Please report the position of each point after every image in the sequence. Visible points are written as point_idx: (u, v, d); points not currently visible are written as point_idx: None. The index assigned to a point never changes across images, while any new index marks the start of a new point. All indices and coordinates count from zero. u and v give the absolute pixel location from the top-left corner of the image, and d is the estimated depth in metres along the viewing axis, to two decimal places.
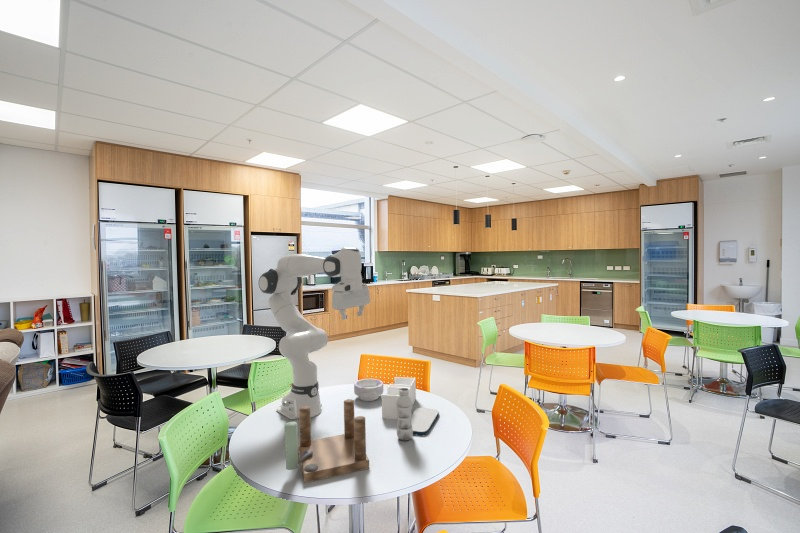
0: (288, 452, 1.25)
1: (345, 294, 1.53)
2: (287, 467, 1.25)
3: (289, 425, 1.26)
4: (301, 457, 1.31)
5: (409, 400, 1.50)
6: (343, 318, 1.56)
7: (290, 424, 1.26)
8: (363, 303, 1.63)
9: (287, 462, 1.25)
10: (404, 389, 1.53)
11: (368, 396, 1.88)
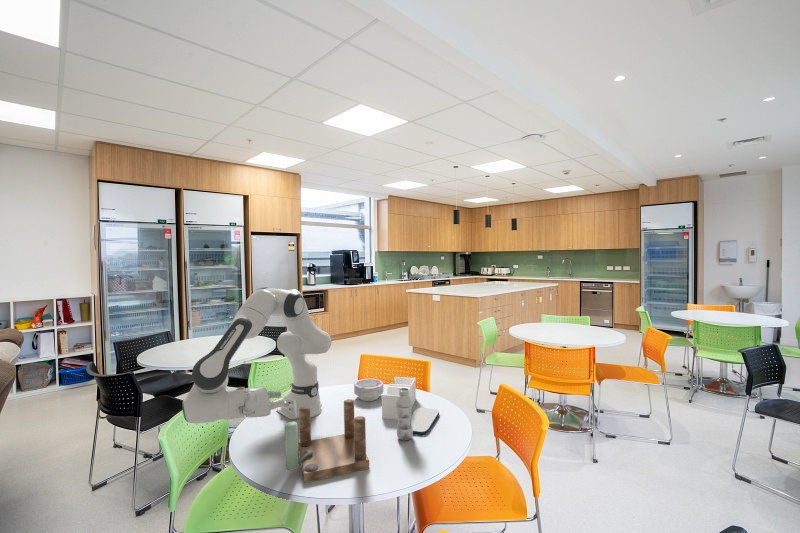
0: (288, 452, 1.25)
1: None
2: (287, 467, 1.25)
3: (289, 425, 1.26)
4: (301, 457, 1.31)
5: (409, 400, 1.50)
6: None
7: (290, 424, 1.26)
8: None
9: (287, 462, 1.25)
10: (404, 389, 1.53)
11: (368, 396, 1.88)
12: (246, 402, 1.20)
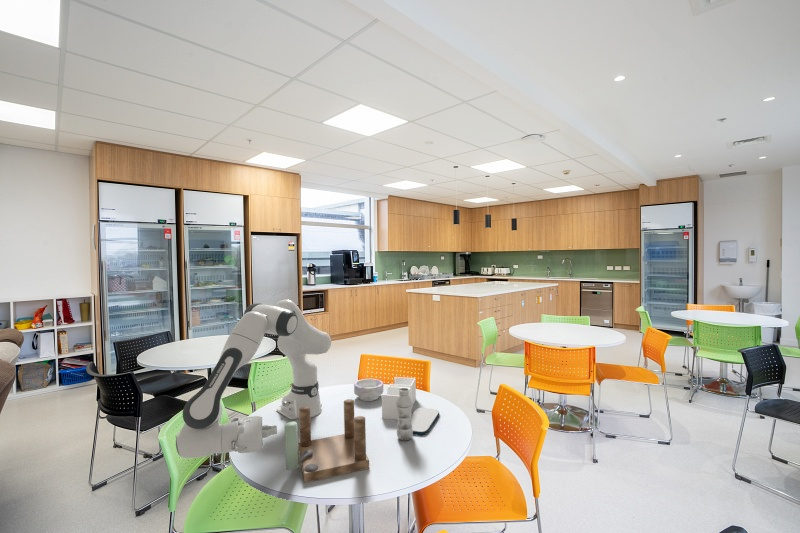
0: (288, 452, 1.25)
1: None
2: (287, 467, 1.25)
3: (289, 425, 1.26)
4: (301, 457, 1.31)
5: (409, 400, 1.50)
6: None
7: (290, 424, 1.26)
8: None
9: (287, 462, 1.25)
10: (404, 389, 1.53)
11: (368, 396, 1.88)
12: (239, 436, 1.20)
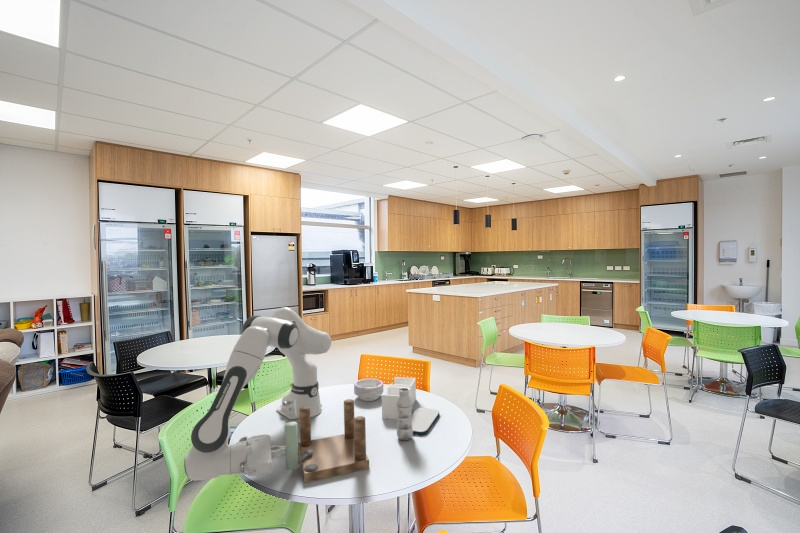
0: (288, 452, 1.25)
1: None
2: (287, 467, 1.25)
3: (289, 425, 1.26)
4: (301, 457, 1.31)
5: (409, 400, 1.50)
6: None
7: (290, 424, 1.26)
8: None
9: (287, 462, 1.25)
10: (404, 389, 1.53)
11: (368, 396, 1.88)
12: (247, 458, 1.19)
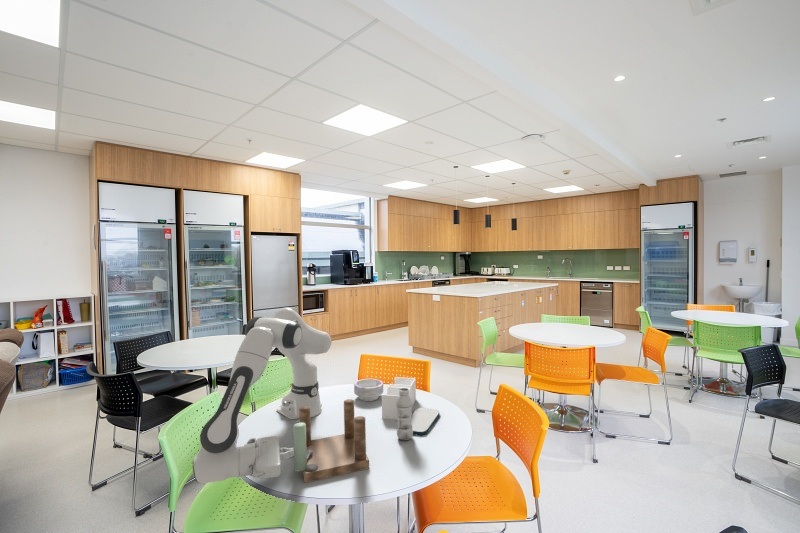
0: (299, 453, 1.24)
1: None
2: (298, 469, 1.24)
3: (299, 426, 1.25)
4: None
5: (409, 400, 1.50)
6: None
7: (299, 425, 1.25)
8: None
9: (298, 464, 1.24)
10: (404, 389, 1.53)
11: (368, 396, 1.88)
12: (256, 460, 1.17)
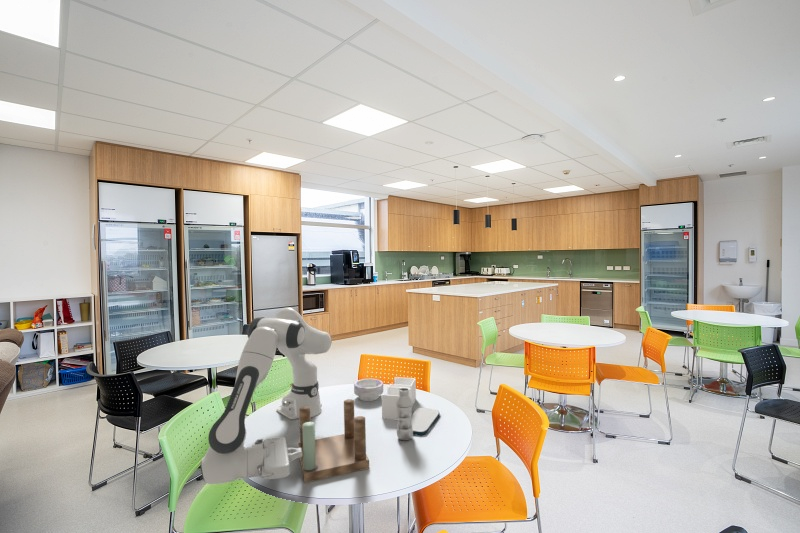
0: (311, 452, 1.25)
1: None
2: (308, 468, 1.25)
3: (309, 425, 1.25)
4: None
5: (409, 400, 1.50)
6: None
7: (308, 424, 1.26)
8: None
9: (309, 463, 1.24)
10: (404, 389, 1.53)
11: (368, 396, 1.88)
12: (265, 461, 1.17)
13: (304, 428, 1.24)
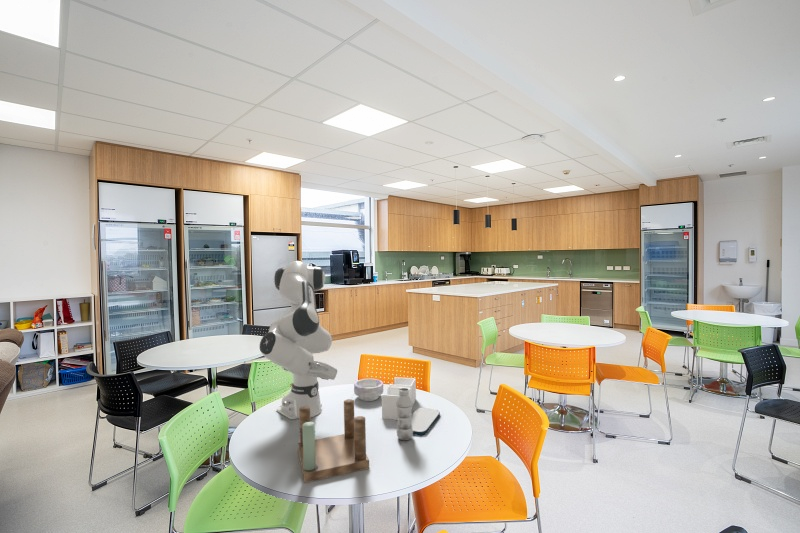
0: (311, 452, 1.25)
1: None
2: (308, 468, 1.25)
3: (309, 425, 1.25)
4: None
5: (409, 400, 1.50)
6: None
7: (308, 424, 1.26)
8: (324, 378, 1.31)
9: (309, 463, 1.24)
10: (404, 389, 1.53)
11: (368, 396, 1.88)
12: (316, 361, 1.30)
13: (304, 428, 1.24)
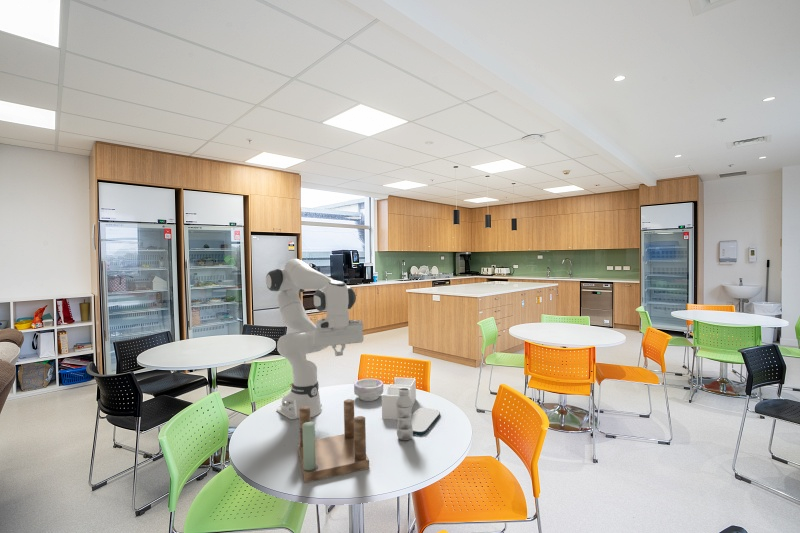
0: (311, 452, 1.25)
1: (323, 331, 1.47)
2: (308, 468, 1.25)
3: (309, 425, 1.25)
4: None
5: (409, 400, 1.50)
6: (335, 354, 1.51)
7: (308, 424, 1.26)
8: (352, 341, 1.52)
9: (309, 463, 1.24)
10: (404, 389, 1.53)
11: (368, 396, 1.88)
12: None
13: (304, 428, 1.24)
